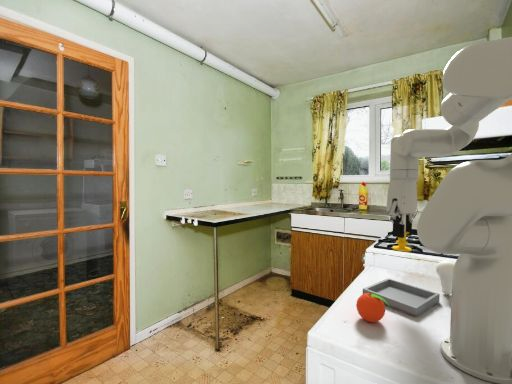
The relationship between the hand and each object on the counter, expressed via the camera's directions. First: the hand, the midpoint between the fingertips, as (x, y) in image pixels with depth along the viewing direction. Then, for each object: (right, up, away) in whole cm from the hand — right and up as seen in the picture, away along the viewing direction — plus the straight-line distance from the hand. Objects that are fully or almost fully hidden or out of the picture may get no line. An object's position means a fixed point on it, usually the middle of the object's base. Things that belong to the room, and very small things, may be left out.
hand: (402, 235), depth 80 cm
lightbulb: (+17, -20, +5) cm, 27 cm away
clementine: (-14, -20, -12) cm, 28 cm away
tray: (0, -20, +1) cm, 20 cm away
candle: (0, -4, 0) cm, 4 cm away
